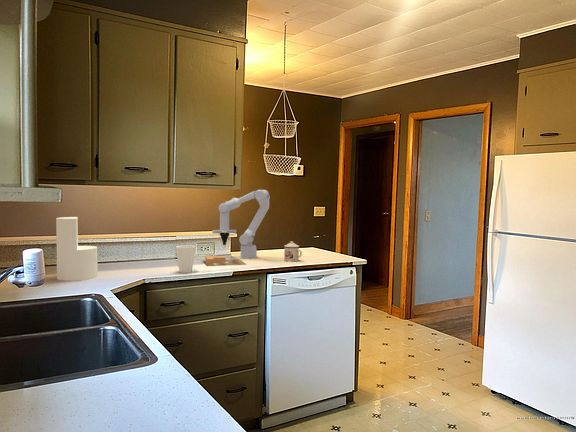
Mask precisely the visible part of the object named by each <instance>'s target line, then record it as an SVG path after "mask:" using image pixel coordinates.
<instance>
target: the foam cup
mask: <svg viewBox="0 0 576 432" xmlns="http://www.w3.org/2000/svg"><path fill="white" fill-rule="evenodd" d="M175 252H176V258H177V264H178V265H177V266H178V272H179V273H180V272H181V274H189V273H190V274H191V273H192V272H193V267H194V261H195V260H194V259H195V258H194V257H195V252H196V245H191V244H190V245H189V244H188V245H187V244H186V245H176V246H175Z"/></svg>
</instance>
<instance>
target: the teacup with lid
mask: <svg viewBox="0 0 576 432" xmlns="http://www.w3.org/2000/svg"><path fill="white" fill-rule="evenodd" d="M283 247H284V255H283V256H284V258H283V259H284V262H288V261H296V262H299V261H300V260H299V259H300V258H301V257H302V255H303V251H302V250H301V249H300V245H298V244H296V243H294V241H289V242H288V243H287V244H285V245H284V246H283Z"/></svg>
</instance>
